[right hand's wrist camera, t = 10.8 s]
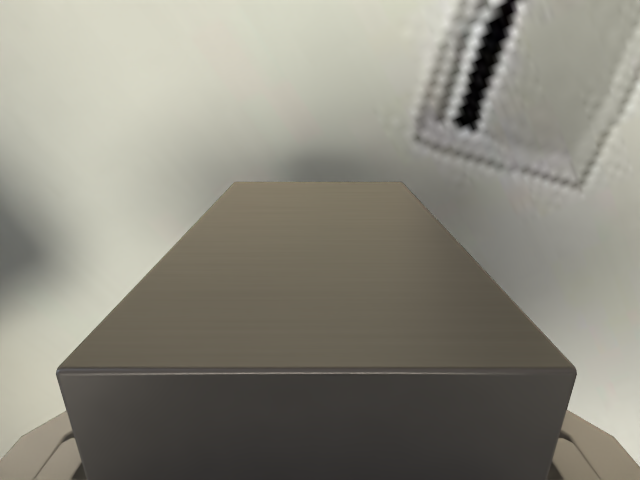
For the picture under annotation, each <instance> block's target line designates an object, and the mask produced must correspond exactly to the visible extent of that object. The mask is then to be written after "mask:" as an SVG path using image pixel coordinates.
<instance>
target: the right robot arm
mask: <svg viewBox="0 0 640 480" xmlns="http://www.w3.org/2000/svg"><path fill="white" fill-rule="evenodd" d="M0 480H87V479H86V475H85V472H84V468H83V465H82V462H81V458H80V455H79V451H78V448H77V444H76V441H75V438H74V434H73V431H72V427H71V424H70V420H69V417H68V414H67V411H65V412H63V413H62V414H60V415H58V416H56V417H55V418H53V419H51V420H49V421H48V422H46V423H44V424H42V425H41V426H39V427H37V428H35V429H34V430H32V431H30V432H28V433H27V434H25V435H23V436H22V437H21V438H20V439H19V440H18V441H17V442H16V443H15V444H14V446H13V447H12V448H11V449H10V450H9V451H8V452H7V454H6V455H5V456H4V457H3V458H2V459H1V460H0ZM547 480H640V467H639V466H638V464H637V463H636V462H635V461H634V460H633V459H632V457H631V456H630V455H629V454H628V453H627V452H626V450H625V449H624V448H623V447H622V446H621V445H620V443H619V442H618V441H617V440H616V439H615V438H614V437H613V436H611V435H610V434H608V433H606V432H604V431H603V430H601V429H599V428H598V427H596V426H594V425H592V424H591V423H589V422H587V421H585V420H584V419H582V418H580V417H579V416H577V415H575V414H573V413H572V412H570V411H568V410H566V414H565V417H564V421H563V424H562V428H561V431H560V435H559V438H558V442H557V445H556V449H555V452H554V456H553V459H552V463H551V466H550V470H549V473H548V477H547Z"/></svg>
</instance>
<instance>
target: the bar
mask: <svg viewBox="0 0 640 480" xmlns="http://www.w3.org/2000/svg"><path fill="white" fill-rule="evenodd" d="M576 375H577V372H576V368H575V367H574V365H573V364H572V363H571V362H570V361H569V360H568V359H567V358H566V357H565V356H564V355H563V354H562V353H561V352H560V351H559V349H558V348H557V347H556V346H555V345H554V344H553V343H552V342H551V341H550V340H549V339H548V338H547V337H546V336H545V334H544V333H543V332H542V331H541V330H540V329H539V328H538V327H537V326H536V325H535V324H534V323H533V322H532V321H531V319H530V318H529V317H528V316H527V315H526V314H525V313H524V312H523V311H522V310H521V309H520V308H519V307H518V306H517V305H516V303H515V302H514V301H513V300H512V299H511V298H510V297H509V296H508V295H507V294H506V293H505V292H504V291H503V290H502V288H501V287H500V286H499V285H498V284H497V283H496V282H495V281H494V280H493V279H492V278H491V277H490V276H489V275H488V273H487V272H486V271H485V270H484V269H483V268H482V267H481V266H480V265H479V264H478V263H477V262H476V261H475V260H474V259H473V257H472V256H471V255H470V254H469V253H468V252H467V251H466V250H465V249H464V248H463V247H462V246H461V245H460V244H459V242H458V241H457V240H456V239H455V238H454V237H453V236H452V235H451V234H450V233H449V232H448V231H447V230H446V229H445V227H444V226H443V225H442V224H441V223H440V222H439V221H438V220H437V219H436V218H435V217H434V216H433V215H432V214H431V213H430V211H429V210H428V209H427V208H426V207H425V206H424V205H423V204H422V203H421V202H420V201H419V200H418V199H417V198H416V196H415V195H414V194H413V193H412V192H411V191H410V190H409V189H408V188H407V187H406V186H405V185H404V184H403V183H402V182H234V183H233V184H232V185H231V187H230V188H229V189H228V190H227V191H226V192H225V193H224V194H223V195H222V196H221V197H220V198H219V199H218V200H217V201H216V202H215V203H214V204H213V205H212V206H211V208H210V209H209V210H208V211H207V212H206V213H205V214H204V215H203V216H202V217H201V218H200V219H199V220H198V221H197V222H196V223H195V224H194V225H193V226H192V227H191V228H190V230H189V231H188V232H187V233H186V234H185V235H184V236H183V237H182V238H181V239H180V240H179V241H178V242H177V243H176V244H175V245H174V246H173V247H172V248H171V249H170V251H169V252H168V253H167V254H166V255H165V256H164V257H163V258H162V259H161V260H160V261H159V262H158V263H157V264H156V265H155V266H154V267H153V268H152V269H151V270H150V271H149V273H148V274H147V275H146V276H145V277H144V278H143V279H142V280H141V281H140V282H139V283H138V284H137V285H136V286H135V287H134V288H133V289H132V290H131V291H130V292H129V293H128V295H127V296H126V297H125V298H124V299H123V300H122V301H121V302H120V303H119V304H118V305H117V306H116V307H115V308H114V309H113V310H112V311H111V312H110V313H109V314H108V316H107V317H106V318H105V319H104V320H103V321H102V322H101V323H100V324H99V325H98V326H97V327H96V328H95V329H94V330H93V331H92V332H91V333H90V334H89V335H88V336H87V338H86V339H85V340H84V341H83V342H82V343H81V344H80V345H79V346H78V347H77V348H76V349H75V350H74V351H73V352H72V353H71V354H70V355H69V356H68V357H67V359H66V360H65V361H64V362H63V363H62V364H61V365H60V366H59V367H58V369H57V372H56V376H57V379H58V383H59V386H60V390H61V393H62V396H63V400H64V403H65V407H66V410H67V414H68V417H69V420H70V424H71V427H72V431H73V434H74V438H75V441H76V444H77V448H78V451H79V455H80V458H81V462H82V465H83V468H84V472H85V475H86V479H87V480H547V477H548V473H549V470H550V466H551V463H552V459H553V456H554V452H555V449H556V445H557V442H558V438H559V435H560V431H561V428H562V424H563V421H564V417H565V414H566V410H567V407H568V403H569V400H570V396H571V393H572V389H573V386H574V382H575V379H576Z"/></svg>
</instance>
